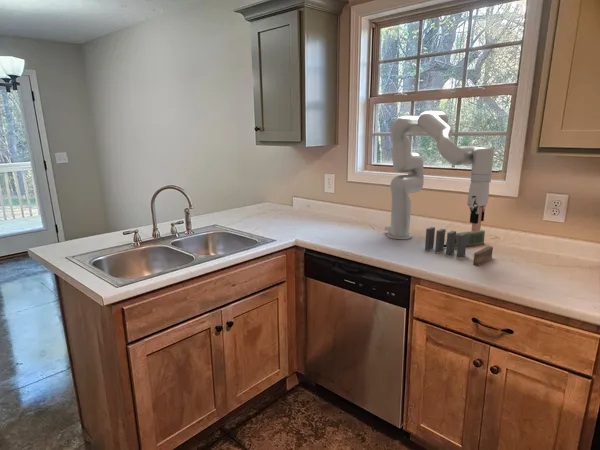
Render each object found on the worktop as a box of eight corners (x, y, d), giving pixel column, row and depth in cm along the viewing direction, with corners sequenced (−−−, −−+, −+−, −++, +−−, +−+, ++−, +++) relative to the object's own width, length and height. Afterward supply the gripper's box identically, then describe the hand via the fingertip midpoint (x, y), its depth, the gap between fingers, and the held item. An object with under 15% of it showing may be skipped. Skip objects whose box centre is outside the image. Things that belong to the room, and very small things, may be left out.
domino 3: (445, 254, 173) (447, 232, 171) (450, 252, 176) (452, 230, 174) (449, 255, 172) (450, 233, 170) (454, 253, 175) (456, 231, 173)
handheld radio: (485, 244, 188) (442, 250, 180) (479, 242, 191) (437, 248, 183) (486, 230, 187) (443, 235, 179) (480, 229, 190) (438, 234, 182)
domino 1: (424, 249, 180) (426, 228, 178) (430, 247, 183) (431, 226, 181) (428, 250, 179) (429, 229, 177) (433, 248, 182) (435, 227, 180)
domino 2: (435, 252, 177) (436, 230, 174) (440, 249, 180) (442, 228, 178) (438, 253, 176) (440, 231, 173) (443, 250, 179) (445, 229, 176)
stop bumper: (473, 264, 160) (474, 253, 159) (486, 256, 170) (488, 245, 168) (478, 265, 159) (479, 254, 158) (491, 258, 168) (492, 246, 167)
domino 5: (471, 231, 163) (473, 207, 161) (476, 229, 166) (478, 206, 164) (475, 232, 162) (477, 208, 159) (480, 229, 165) (482, 206, 163)
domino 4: (456, 257, 170) (458, 235, 167) (461, 254, 173) (463, 232, 171) (460, 258, 168) (462, 235, 166) (465, 255, 172) (467, 233, 169)
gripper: (480, 175, 167) (476, 217, 171) (462, 179, 156) (458, 223, 160) (498, 177, 162) (493, 220, 166) (481, 181, 151) (477, 227, 155)
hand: (476, 221), depth 163 cm, fingers closed on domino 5, 4 cm apart
